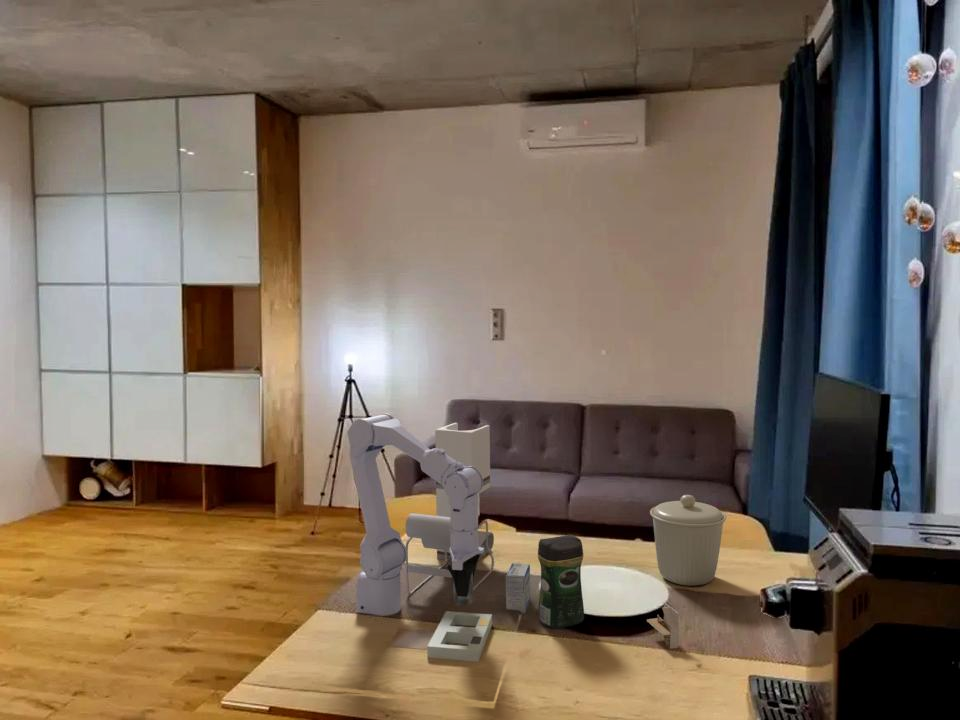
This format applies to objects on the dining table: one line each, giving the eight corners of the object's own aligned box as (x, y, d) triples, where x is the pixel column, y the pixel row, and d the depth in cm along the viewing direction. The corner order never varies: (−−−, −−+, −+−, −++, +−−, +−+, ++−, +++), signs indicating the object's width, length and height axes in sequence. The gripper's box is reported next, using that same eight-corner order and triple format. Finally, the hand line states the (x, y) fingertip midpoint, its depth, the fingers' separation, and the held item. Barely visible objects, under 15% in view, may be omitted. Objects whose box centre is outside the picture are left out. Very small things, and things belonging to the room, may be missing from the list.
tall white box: (472, 563, 193) (471, 432, 190) (437, 558, 198) (435, 429, 195) (490, 550, 204) (489, 425, 201) (456, 544, 208) (455, 422, 205)
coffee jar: (570, 609, 165) (571, 528, 163) (589, 624, 157) (589, 539, 156) (532, 617, 161) (532, 534, 159) (549, 632, 154) (549, 546, 152)
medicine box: (525, 614, 163) (525, 576, 162) (505, 612, 164) (505, 575, 163) (530, 599, 170) (530, 563, 170) (511, 598, 171) (511, 562, 170)
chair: (405, 598, 172) (403, 516, 170) (447, 562, 195) (446, 489, 193) (458, 607, 167) (457, 522, 165) (495, 568, 190) (494, 494, 189)
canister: (696, 561, 194) (697, 483, 192) (740, 587, 177) (742, 501, 175) (635, 570, 188) (636, 489, 186) (675, 597, 171) (677, 508, 169)
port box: (427, 661, 142) (427, 646, 142) (446, 624, 158) (446, 610, 157) (478, 665, 140) (478, 650, 140) (492, 628, 156) (492, 614, 156)
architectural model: (663, 652, 146) (664, 615, 145) (646, 636, 153) (647, 602, 152) (679, 649, 147) (679, 613, 146) (661, 634, 154) (662, 600, 153)
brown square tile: (387, 650, 147) (387, 646, 147) (399, 632, 154) (399, 628, 154) (426, 653, 145) (426, 649, 145) (436, 634, 153) (436, 631, 153)
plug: (453, 605, 150) (452, 572, 150) (454, 597, 154) (453, 565, 154) (472, 605, 150) (471, 571, 150) (473, 597, 154) (472, 564, 154)
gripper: (476, 539, 143) (477, 607, 144) (489, 517, 157) (489, 579, 158) (441, 537, 144) (442, 604, 146) (457, 516, 159) (457, 577, 160)
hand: (464, 591), depth 152 cm, fingers closed on plug, 4 cm apart
